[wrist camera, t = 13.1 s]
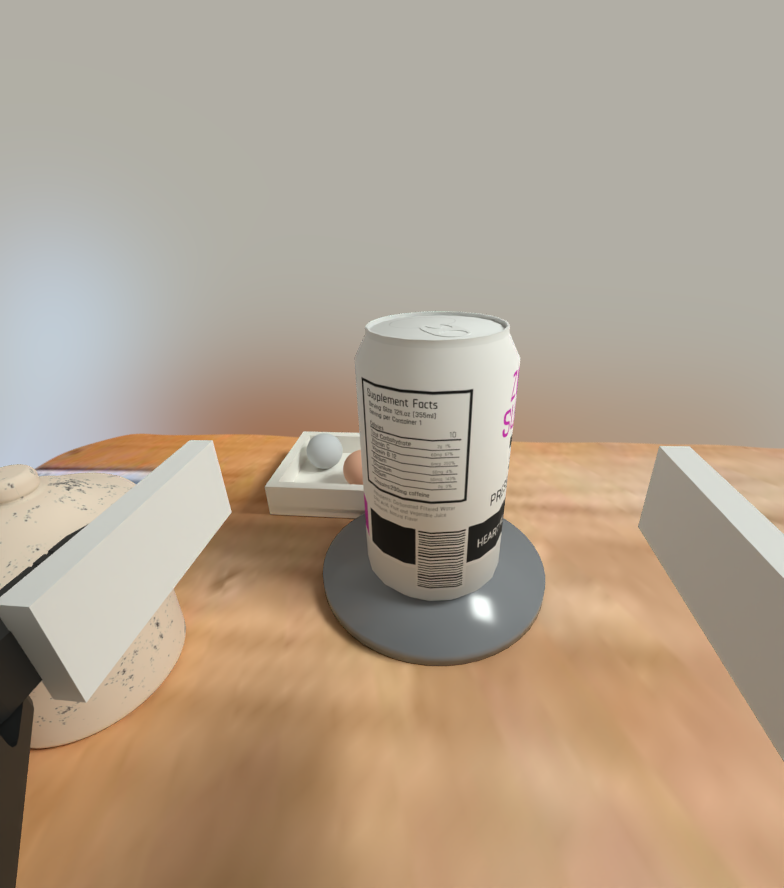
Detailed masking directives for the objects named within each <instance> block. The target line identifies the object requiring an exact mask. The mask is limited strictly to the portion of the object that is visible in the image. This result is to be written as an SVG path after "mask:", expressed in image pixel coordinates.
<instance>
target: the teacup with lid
mask: <svg viewBox="0 0 784 888" xmlns="http://www.w3.org/2000/svg"><path fill="white" fill-rule="evenodd" d="M135 485H136V484H134V483H133V482H131V481H130V480H128V479H126V478H123V477H120V476H117V475H112V474H104V473H78V474H68V475H61V476H38V474H37V472H36V470H35V469H33V468H32V467H30V466H27V465H21V464H20V465H19V464H17V465H9V466H4V467H1V468H0V589H1V588H3V587H4V586H5V585H6V584H8V583H9V582H10V581H11V580H13V579H14V578H15V577H16V576H18V575H19V574H20V573H21V572H22V571H24V570H25V569H26V568H27V567H32V565H33V563H34V562H35V561H36V560H37V559H39V558H40V557H41V556H42V555H43V554H47V553H48V550H50V549H51V548H52V547H53V546H55V545H56V544H57V543H58V542H59V541H61V540H62V539H63V538H64V537H66V536H67V535H69V534H71V533H73V532H75V531H76V530H78V529H80V528H82V527H84V526H86V525H87V524H89V523H91V522H92V521H93V520H94V519H95V518H97V517H98V516H99V515H100V514H101V513H103V512H104V511H105V510H106V509H107V508H109V507H110V506H111V505H112V504H114V503H115V502H116V501H117V500H118V499H120V498H121V497H122V496H123V495H124V494H126V493H127V492H128V491H129V490H130V489H132V488H133V487H134V486H135ZM185 635H186V625H185V620H184V617H183V614H182V611H181V608H180V605H179V602H178V599H177V597H176V594H175V591H174V588H173V590H172V591H171V592H170V594H169V595H168V596H167V598H166V599H165V600H164V602H163V603H162V604H161V605H160V607H159V608H158V609H157V611H156V612H155V613H154V615H153V616H152V617H151V619H150V620H149V621H148V623H147V624H146V625H145V626H144V628H143V629H142V630H141V632H140V633H139V634H138V636H137V637H136V638H135V640H134V641H133V642H132V644H131V645H130V646H129V647H128V649H127V650H126V651H125V653H124V654H123V655H122V657H121V658H120V659H119V661H118V662H117V663H116V664H115V666H114V667H113V668H112V670H111V671H110V672H109V674H108V675H107V676H106V678H105V679H104V680H103V682H102V683H101V684H100V685H99V687H98V688H97V689H96V691H95V692H94V693H93V695H92V696H91V697H90V699H89V700H88V701H87V703H84V702H74V701H64V700H55V699H53V698H52V696H51V695H50V693H49V692H48V690H47V689H46V687H45V686H44V684H43V682H42V681H41V682H40V683H39V684H38V685H37V687H36V688H35V689H34V690H33V691H32V692H31V693H30V694H29V696H30V698H31V699H32V701H33V705H34V715H33V725H32V734H31V744H30V748H49V747H55V746H60V745H64V744H68V743H72V742H75V741H78V740H81V739H83V738H86V737H88V736H91V735H93V734H95V733H97V732H99V731H102V730H103V729H105V728H107V727H109V726H111V725H112V724H114V723H116V722H117V721H119V720H120V719H122V718H123V717H125V716H126V715H128V714H129V713H131V712H132V711H133V710H134V709H136V708H137V707H138V706H139V705H141V704H142V703H143V702H144V701H145V700H146V699H147V698H148V697H149V696H151V695H152V694H153V693H154V692H155V691H156V689H157V688H158V687H159V686H160V685H161V684H162V683H163V681H164V680H165V679H166V677H167V676H168V675H169V673H170V672H171V670H172V669H173V667H174V666H175V664H176V662H177V660H178V658H179V656H180V654H181V651H182V648H183V645H184V641H185Z"/></svg>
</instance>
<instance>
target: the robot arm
mask: <svg viewBox="0 0 784 888" xmlns="http://www.w3.org/2000/svg"><path fill="white" fill-rule="evenodd" d="M230 514H231V508H230V504H229V501H228V497H227V493H226V489H225V486H224V482H223V478H222V474H221V470H220V467H219V463H218V459H217V455H216V452H215V448H214V444H213V441H208V440H190V441H188V442H187V443H186V444H185V445H184V446H182V447H181V448H180V449H179V450H178V451H176V452H175V453H174V454H173V455H172V456H170V457H169V458H168V459H167V460H166V461H164V462H163V463H162V464H161V465H159V466H158V467H157V468H156V469H155V470H153V471H152V472H151V473H150V474H149V475H147V476H146V477H145V478H144V479H143V480H141V481H140V482H139V483H138V484H137V485H135V486H134V487H133V488H132V489H130V490H129V491H128V492H127V493H126V494H124V495H123V496H122V497H121V498H120V499H118V500H117V501H116V502H115V503H114V504H112V505H111V506H110V507H109V508H107V509H106V510H105V511H104V512H103V513H101V514H100V515H99V516H98V517H97V518H95V519H94V520H93V521H92V522H91V523H89V524H87V525H86V526H84V527H82V528H80V529H78V530H76V531H75V532H73V533H71V534H69V535H67V536H66V537H64V538H63V539H62V540H61V541H59V542H58V543H57V544H56V545H55V546H53V547H52V548H51V549H50V550H48V553H47V554H43V555H42V556H41V557H40V558H39V559H37V560H36V561H35V562H34V563H33V565H32V567H27V568H26V569H25V570H24V571H22V572H21V573H20V574H19V575H18V576H16V577H15V578H14V579H13V580H11V581H10V582H9V583H8V584H6V585H5V586H4V587H3V588H1V589H0V888H15V887H16V877H17V868H18V858H19V849H20V839H21V830H22V820H23V811H24V801H25V792H26V782H27V773H28V763H29V754H30V744H31V734H32V725H33V715H34V705H33V701H32V699H31V698H30V696H29V694H30V693H31V692H32V691H33V690H34V689H35V688H36V687H37V685H38V684H39V683H40V682H41V681H42V682H43V684H44V686H45V687H46V689H47V690H48V692H49V693H50V695H51V696H52V698H53V699H55V700H64V701H74V702H84V703H87V701H88V700H89V699H90V697H91V696H92V695H93V693H94V692H95V691H96V689H97V688H98V687H99V685H100V684H101V683H102V682H103V680H104V679H105V678H106V676H107V675H108V674H109V672H110V671H111V670H112V668H113V667H114V666H115V664H116V663H117V662H118V661H119V659H120V658H121V657H122V655H123V654H124V653H125V651H126V650H127V649H128V647H129V646H130V645H131V644H132V642H133V641H134V640H135V638H136V637H137V636H138V634H139V633H140V632H141V630H142V629H143V628H144V626H145V625H146V624H147V623H148V621H149V620H150V619H151V617H152V616H153V615H154V613H155V612H156V611H157V609H158V608H159V607H160V605H161V604H162V603H163V602H164V600H165V599H166V598H167V596H168V595H169V594H170V592H171V591H172V590H173V588H174V587H175V586H176V584H177V583H178V582H179V581H180V579H181V578H182V577H183V575H184V574H185V573H186V571H187V570H188V569H189V567H190V566H191V565H192V563H193V562H194V561H195V560H196V558H197V557H198V556H199V554H200V553H201V552H202V550H203V549H204V548H205V546H206V545H207V544H208V542H209V541H210V540H211V539H212V537H213V536H214V535H215V533H216V532H217V531H218V529H219V528H220V527H221V525H222V524H223V523H224V521H225V520H226V519H227V518H228V516H229V515H230ZM638 527H639V529H640V531H641V532H642V534H643V535H644V537H645V539H646V540H647V542H648V543H649V545H650V547H651V548H652V550H653V552H654V553H655V555H656V556H657V558H658V560H659V561H660V563H661V564H662V566H663V568H664V569H665V571H666V573H667V574H668V576H669V577H670V579H671V581H672V582H673V584H674V585H675V587H676V589H677V590H678V592H679V593H680V595H681V597H682V598H683V600H684V602H685V603H686V605H687V606H688V608H689V610H690V611H691V613H692V614H693V616H694V618H695V619H696V621H697V623H698V624H699V626H700V627H701V629H702V631H703V632H704V634H705V635H706V637H707V639H708V640H709V642H710V643H711V645H712V647H713V648H714V650H715V652H716V653H717V655H718V656H719V658H720V660H721V661H722V663H723V664H724V666H725V668H726V669H727V671H728V673H729V674H730V676H731V677H732V679H733V681H734V682H735V684H736V685H737V687H738V689H739V690H740V692H741V694H742V695H743V697H744V698H745V700H746V702H747V703H748V705H749V706H750V708H751V710H752V711H753V713H754V714H755V716H756V718H757V719H758V721H759V723H760V724H761V726H762V727H763V729H764V731H765V732H766V734H767V735H768V737H769V739H770V740H771V742H772V744H773V745H774V747H775V748H776V750H777V752H778V753H779V755H780V756H781V758H782V760H783V761H784V534H783V533H782V532H781V531H780V530H779V529H778V528H777V527H775V526H774V525H773V524H772V523H771V522H770V521H769V520H768V519H767V518H766V517H765V516H764V515H763V514H761V513H760V512H759V511H758V510H757V509H756V508H755V507H754V506H753V505H752V504H751V503H750V502H749V501H747V500H746V499H745V498H744V497H743V496H742V495H741V494H740V493H739V492H738V491H737V490H736V489H735V488H734V487H732V486H731V485H730V484H729V483H728V482H727V481H726V480H725V479H724V478H723V477H722V476H721V475H720V474H718V473H717V472H716V471H715V470H714V469H713V468H712V467H711V466H710V465H709V464H708V463H707V462H706V461H704V460H703V459H702V458H701V457H700V456H699V455H698V454H697V453H696V452H695V451H694V450H693V449H692V448H691V447H689V446H659V449H658V453H657V457H656V461H655V464H654V468H653V472H652V476H651V479H650V483H649V487H648V491H647V495H646V498H645V502H644V506H643V510H642V514H641V517H640V521H639V525H638Z"/></svg>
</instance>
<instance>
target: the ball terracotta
mask: <svg viewBox="0 0 784 888" xmlns="http://www.w3.org/2000/svg"><path fill="white" fill-rule="evenodd" d="M343 473H344V477H345V479H346V480H347V482H348V483H349V484H355V485H363V475H362V460H361V450H357V451H355V452H353V453H351V454H350V455H349V456H348V457H347V458H346V460H345V462H344V465H343Z"/></svg>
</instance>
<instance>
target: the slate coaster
mask: <svg viewBox="0 0 784 888" xmlns="http://www.w3.org/2000/svg"><path fill="white" fill-rule="evenodd" d="M323 578H324V587H325V594H326V597H327V601H328V604H329V606H330V608H331V610H332V612H333V614H334V616H335V617H336V619H337V620H338V621H339V623H340V624H341V625H342V626H343V627H344V628H345V629H346V630H347V631H348V633H349V634H350V635H352V636H353V637H354V638H356V639H357V640H358V641H360V642H361V643H362V644H364V645H365V646H367V647H369V648H371V649H373V650H374V651H376V652H378V653H381V654H383V655H386V656H388V657H391V658H393V659H397V660H401V661H405V662H408V663H414V664H421V665H433V666H448V665H459V664H466V663H470V662H475V661H479V660H482V659H485V658H488V657H490V656H493V655H495V654H497V653H499V652H501V651H503V650H505V649H507V648H509V647H510V646H511V645H513V644H514V643H515V642H517V641H518V640H519V639H521V637H522V636H523V635H524V634H525V633H526V632H527V631H528V630H529V629H530V628H531V626H532V625H533V623H534V622H535V620H536V619H537V616H538V614H539V611H540V609H541V605H542V601H543V596H544V590H545V573H544V568H543V564H542V561H541V559H540V556H539V554H538V552H537V551H536V549H535V547H534V546H533V544H532V543H531V542H530V541H529V539H528V538H527V537H526V536H525V535H524V534H523V533H522V532H521V531H520V530H519V529H518V528H516V527H515V526H514V525H513V524H511V523H510V522H508V521H507V520H505V519H503V524H502V533H501V542H500V551H499V561H498V564H497V567H496V569H495V572H494V574H493V577H492V578H491V579H490V580H489V581H488V582H486V583H485V584H484V585H483V586H482V587H481V588H480V589H478V590H477V591H475V592H472V593H469V594H467V595H464V596H461V597H459V598H456V599H452V600H441V601H427V600H422V599H417V598H412V597H409V596H407V595H404V594H402V593H400V592H398V591H396V590H395V589H393V588H391V587H389V586H387V585H385V584H384V583H383V582H382V580H381V579H380V578H379V577H378V576H377V575H376V574H375V572H374V571H373V570H372V567H371V564H370V560H369V556H368V547H367V533H366V518H365V513H364V514H362V515H361V516H359V517H357V518H356V519H354V520H353V521H351V522H350V523H349V524H348V525H347V526H345V527H344V528H343V529H342V530H341V531H340V533H339V534H338V535H337V536H336V537H335V539H334V540H333V542H332V543H331V545H330V547H329V549H328V551H327V553H326V557H325V561H324V567H323Z"/></svg>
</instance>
